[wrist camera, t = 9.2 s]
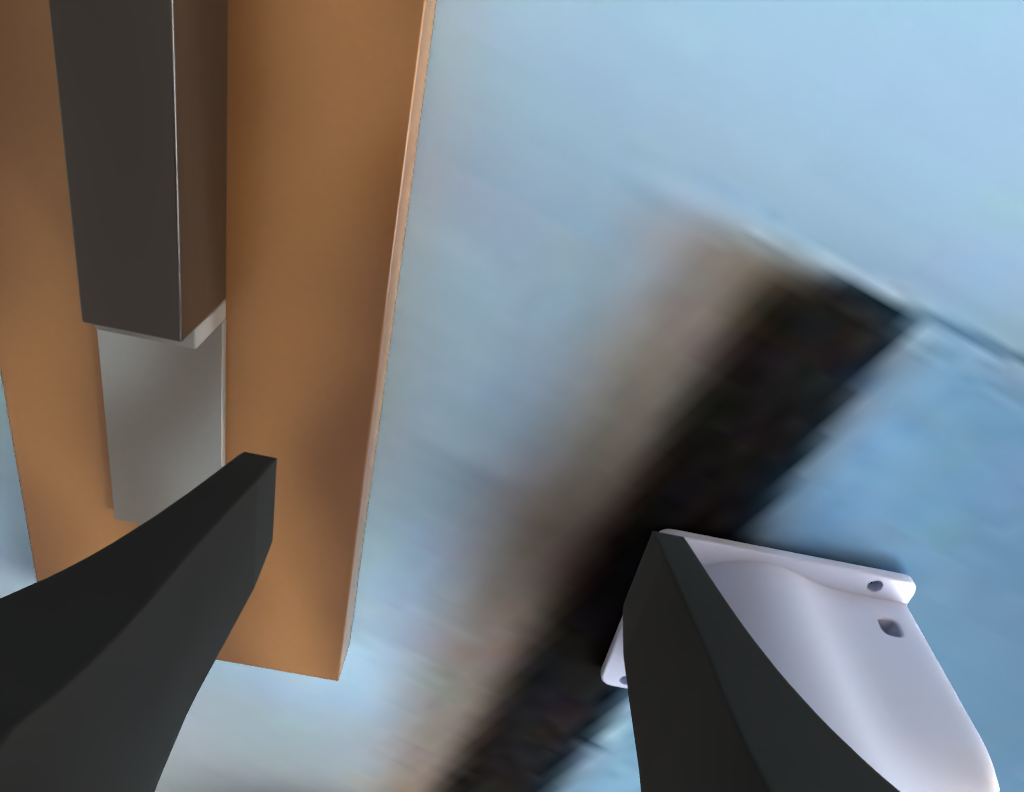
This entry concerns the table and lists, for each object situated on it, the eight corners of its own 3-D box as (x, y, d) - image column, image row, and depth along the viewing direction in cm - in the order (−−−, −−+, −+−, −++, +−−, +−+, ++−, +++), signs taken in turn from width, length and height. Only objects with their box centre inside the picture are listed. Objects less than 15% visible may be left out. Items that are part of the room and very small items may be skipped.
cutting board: (455, -137, 16) (445, -150, 15) (349, 644, 29) (338, 681, 28) (-49, -262, 16) (-116, -288, 14) (72, 594, 29) (44, 630, 27)
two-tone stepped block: (229, -34, 16) (171, -36, 13) (225, 533, 24) (188, 595, 22) (66, -72, 16) (-22, -80, 13) (119, 513, 24) (70, 574, 22)
